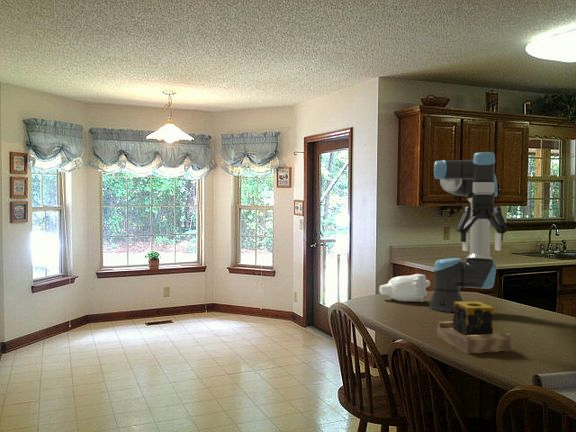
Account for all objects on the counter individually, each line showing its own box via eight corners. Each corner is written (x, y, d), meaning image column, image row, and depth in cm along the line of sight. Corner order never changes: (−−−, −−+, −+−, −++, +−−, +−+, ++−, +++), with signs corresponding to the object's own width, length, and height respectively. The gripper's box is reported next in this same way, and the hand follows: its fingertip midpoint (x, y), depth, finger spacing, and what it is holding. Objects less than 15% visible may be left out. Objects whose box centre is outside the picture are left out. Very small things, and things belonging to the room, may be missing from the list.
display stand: (476, 334, 185) (476, 320, 185) (510, 351, 166) (511, 334, 166) (437, 336, 182) (437, 321, 182) (467, 353, 163) (467, 336, 162)
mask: (381, 301, 257) (431, 301, 249) (377, 303, 243) (430, 302, 235) (380, 274, 258) (430, 273, 250) (376, 274, 245) (428, 273, 237)
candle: (452, 328, 178) (452, 301, 178) (478, 328, 179) (479, 301, 179) (465, 336, 168) (466, 307, 168) (493, 336, 169) (494, 307, 169)
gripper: (506, 194, 191) (504, 249, 192) (447, 193, 186) (446, 249, 187) (519, 194, 184) (517, 251, 184) (458, 193, 179) (456, 252, 179)
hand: (481, 250), depth 186 cm, fingers open, 13 cm apart
